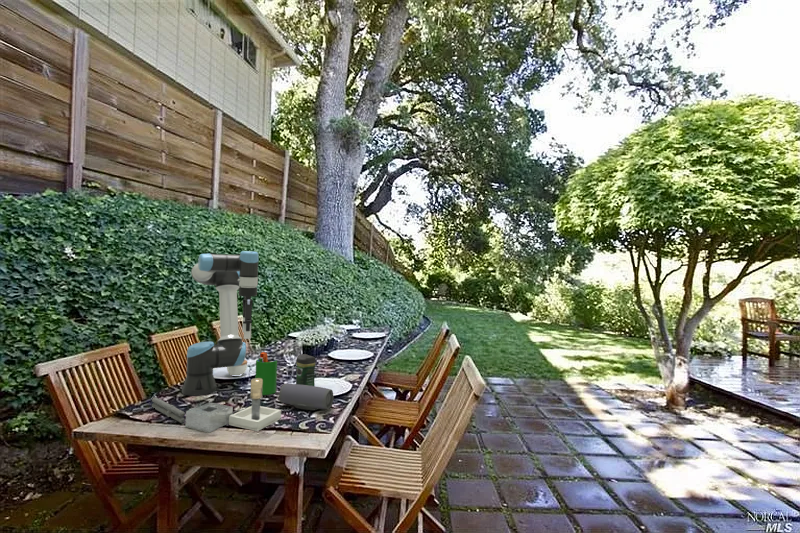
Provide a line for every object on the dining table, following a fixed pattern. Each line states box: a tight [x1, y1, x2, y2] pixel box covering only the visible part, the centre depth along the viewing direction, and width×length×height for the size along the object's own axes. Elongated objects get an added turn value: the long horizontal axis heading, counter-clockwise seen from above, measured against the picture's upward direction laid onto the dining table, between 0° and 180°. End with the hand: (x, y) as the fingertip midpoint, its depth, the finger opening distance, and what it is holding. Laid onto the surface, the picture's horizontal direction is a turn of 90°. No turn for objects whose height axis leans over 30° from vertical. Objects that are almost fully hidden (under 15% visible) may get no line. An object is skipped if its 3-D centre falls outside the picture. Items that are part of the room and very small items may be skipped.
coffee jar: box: [295, 353, 316, 386], centre depth 204 cm, size 10×8×19 cm
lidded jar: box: [226, 359, 248, 376], centre depth 229 cm, size 11×11×9 cm
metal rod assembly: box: [151, 396, 186, 424], centre depth 169 cm, size 26×3×5 cm, turn 53°
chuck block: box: [185, 401, 234, 433], centre depth 161 cm, size 12×12×6 cm
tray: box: [228, 405, 282, 432], centre depth 165 cm, size 14×14×4 cm
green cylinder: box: [255, 352, 278, 396], centre depth 202 cm, size 10×9×20 cm
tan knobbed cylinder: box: [250, 378, 263, 420], centre depth 165 cm, size 4×4×16 cm
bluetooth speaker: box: [278, 383, 335, 411], centre depth 182 cm, size 23×9×10 cm, turn 74°
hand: (246, 335), depth 179 cm, fingers open, 13 cm apart
